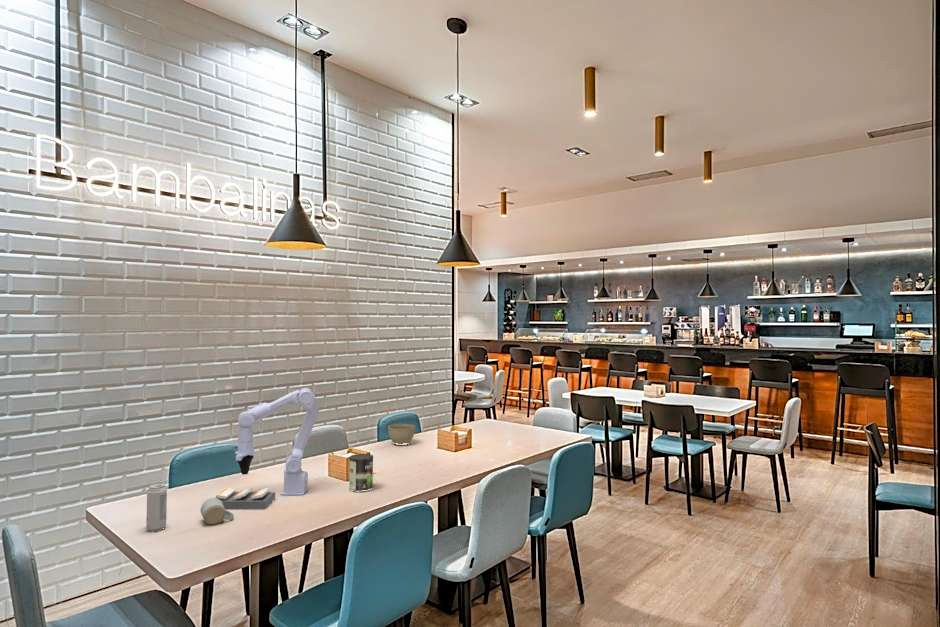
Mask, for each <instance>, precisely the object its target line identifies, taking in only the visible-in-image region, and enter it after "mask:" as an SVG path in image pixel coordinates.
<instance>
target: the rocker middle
mask: <svg viewBox="0 0 940 627" xmlns="http://www.w3.org/2000/svg"><path fill="white" fill-rule="evenodd" d="M253 489H254V488H253V487H252V486H251V487H248V488H245V489H242V490H241V491H238V492H239V493H238V494H237V495H236V496H234V497H233V498H234V500H235V499H240V498H241V497H244V496H245V495H246V494H248V493H249V492H252V491H253Z"/></svg>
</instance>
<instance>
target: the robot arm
mask: <svg viewBox="0 0 940 627" xmlns="http://www.w3.org/2000/svg"><path fill="white" fill-rule="evenodd" d="M298 402H299V403H300V405H302V406H303V407H304V409H305V410H306V414H305V416H304V419H303V420H302V421H303V422H302V424H301V426H300V428H299V432H298V433H297V437H296V439H295V442H294V443H293V447H292V448H291V450H290V452H289V454H287V455H286V457H285V459H284V464H285V469H284V470H283V491H282V492H281V493H280V496H303V495H305V494H306V492H307V491H308V490H309V488H308V486H309V485H308V484H309V480H308V479H309V478H308V477H309V473H308V471H306V470H303V469H302V459H303V456H304V451H305V448H306V446H307V444H308V441H309V438H310V436H311V433H312V430H313V428H314V427H315V426H314V425H315V423H316V420H317V417H318V415H319V411H320V410H319V406H318V401H317V398H316V395H315V394H314V393H313V391H312V390H311V389H310V388H308V387H302V388H300V389H297V390H293V391H291V392H290V393H287V394H286V395H285V394H284V395H283V396H282V397H279V398H278V399H276V400H273V401H272V402H270V403H269V402H263V403H262V402H259V403H258V405H256V406H254V407H251V408H248V409H247V410H246V411H242V412H240V414H239V415H238V417H237V423H238V426H237V427H238V428H237V429H238V430H237V451H235V452H234V454H235V461H236V462H237V463H238V465H239V469H240V473H241V475H249V470H250V467H251V466H250V465H251V463H252V461H253V459H254V457H255V456H254V455H253V454H254V453H255V447H253V446H254V445H253V444H254V440H253V439H254V429H253V423H254V422H255V423H256V422H258V421H260V420H262V419H265V418H266V417H269V416H271V414H272V412H273V411H274V410H277V409H279V408H281V407H284V406H286V405H288V404H298Z"/></svg>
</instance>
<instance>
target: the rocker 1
mask: <svg viewBox="0 0 940 627" xmlns="http://www.w3.org/2000/svg"><path fill="white" fill-rule="evenodd" d="M235 492H237V490H236V489H235V488H229V487H225V488H223V489H222V490H221V491H219V492H218V493H216V495H215V497H218V498H220V499H227V498H228V497H229V496H231V495H232V494H233V493H235Z"/></svg>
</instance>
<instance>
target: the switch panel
mask: <svg viewBox="0 0 940 627" xmlns="http://www.w3.org/2000/svg"><path fill="white" fill-rule="evenodd" d="M239 492H240V491H235V493H233V494H232V495H231V496H229V497H228V498H227V499H220V498H218V497H216V496H215V497H214V498H217V499H219V500H221V501H222V503H223V506H224V508H225V510H266V509H267V508H268V507H269V506H270V505H271V504H272V503H273V502H274V501H275V500H276V491H269V492H267V493H266V494H265V495H264V496H263V497H260V498H258V499H257V498H256V499H252V496H253V495H254V494H255V493H257V492H258V491H250V492H249V493H248V494H246V495H245V496H244V497H241V498H240V499H235V500H234V498H233V497H234V496H236V495H237V494H238V493H239ZM274 499H275V500H274ZM273 500H274V501H273ZM272 501H273V502H272ZM266 507H267V508H266ZM265 508H266V509H265Z"/></svg>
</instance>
